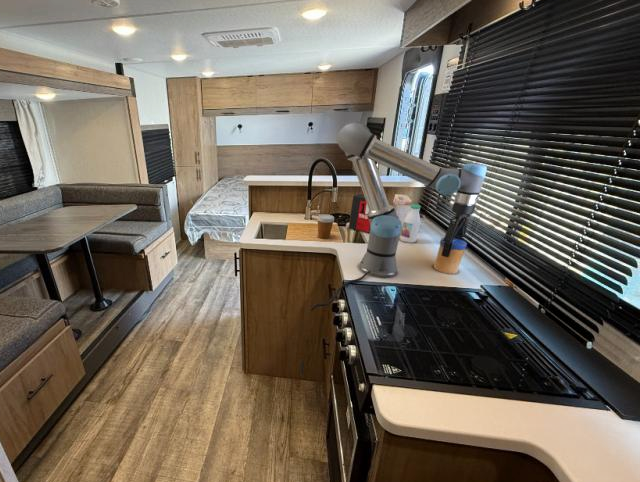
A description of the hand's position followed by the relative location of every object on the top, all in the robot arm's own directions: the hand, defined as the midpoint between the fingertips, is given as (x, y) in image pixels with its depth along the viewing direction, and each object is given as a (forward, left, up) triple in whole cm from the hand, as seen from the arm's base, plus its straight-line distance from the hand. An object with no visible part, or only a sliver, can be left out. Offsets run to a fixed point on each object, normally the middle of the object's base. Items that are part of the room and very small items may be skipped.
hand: (449, 253), depth 134 cm
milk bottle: (+19, +29, -8) cm, 36 cm away
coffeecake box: (+32, +44, -8) cm, 55 cm away
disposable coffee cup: (-16, +58, -8) cm, 61 cm away
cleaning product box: (+14, +53, -8) cm, 55 cm away
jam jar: (0, 0, -8) cm, 8 cm away
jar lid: (0, 0, +5) cm, 5 cm away
